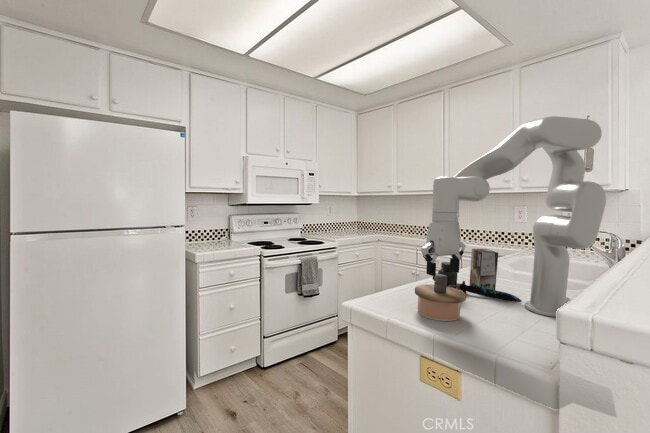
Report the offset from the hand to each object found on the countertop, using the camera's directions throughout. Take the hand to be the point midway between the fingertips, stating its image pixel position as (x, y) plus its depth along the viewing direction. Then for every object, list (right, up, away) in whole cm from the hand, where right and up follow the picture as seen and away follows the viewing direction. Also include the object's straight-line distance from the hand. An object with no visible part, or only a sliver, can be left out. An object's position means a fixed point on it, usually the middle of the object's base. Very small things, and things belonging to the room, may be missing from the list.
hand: (442, 273), depth 100 cm
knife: (+19, -12, +21) cm, 31 cm away
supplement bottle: (+8, -12, +20) cm, 25 cm away
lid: (-1, -7, 0) cm, 7 cm away
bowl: (-1, -13, +1) cm, 13 cm away
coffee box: (+25, -12, +27) cm, 39 cm away
